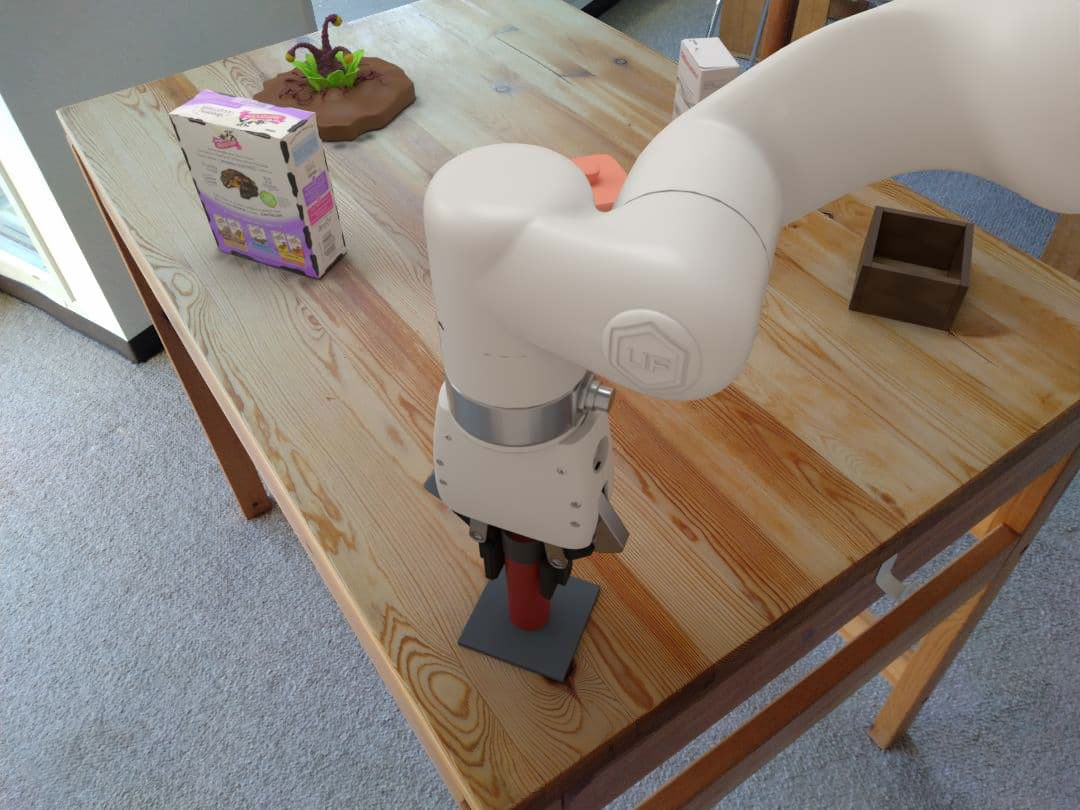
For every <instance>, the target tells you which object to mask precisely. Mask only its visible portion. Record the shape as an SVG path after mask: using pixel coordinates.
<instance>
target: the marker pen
mask: <svg viewBox="0 0 1080 810" xmlns="http://www.w3.org/2000/svg"><path fill="white" fill-rule="evenodd" d="M501 535H502V546H503V551H504V560H505V571H506V582H507V594H508V605H509V615H510V619H511V621H512V622H513V624H514V625H515V626H517V627H518V628H520V629H522V630H527V631H532V630H536V629H539V628H541V627H542V626H544V625H545V624H546V623H547V621H548V620H549V617H550V600H548V599H545V598H543V595H541V588H540V565H541V562H542V560H543V558H544V556H545V554H546V549H545V545H544V542H543V541H539V540H536V539H533V538H530V537H527V536H524V535H520V534H517V533H514V532H511V531H508V530H505V529H502V528H501Z"/></svg>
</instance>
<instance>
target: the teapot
mask: <svg viewBox="0 0 1080 810" xmlns="http://www.w3.org/2000/svg"><path fill="white" fill-rule="evenodd" d="M569 159H570V160H571V161H572V162H574V163H575V164H576V165H577V166H578V167H579V168H580V169H581V170H582V172H583V173H584V174H585V175H586V177H587V179H588V181H589V183H590V185H591V188H592V190H593V195H594V199H595V207H596V209H597V210H599V211H601V212H608V211H611V209H612V207H613V205H614V203H615V201H616V199H617V196H618V194H619V192H620V190H621V188H622V186H623V184H624V182H625V180H626V178H627V176H628V174H627V173H626V172H625V170H624V169H623V167H622V166H621V165H620V164H619V163H618V161H617V160H616V159H615V158H614V157H612V156H611V155H610V154H608V153H604V154H603V153H602V154H592V155H585V156H577V157H572V158H569Z"/></svg>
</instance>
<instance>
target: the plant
mask: <svg viewBox="0 0 1080 810" xmlns="http://www.w3.org/2000/svg"><path fill="white" fill-rule="evenodd" d="M329 23H331V25H332V26H334V27H337V28H338V27H340V26H342V24H343V18H342V16H340V15H339V14H337V13H330V14H328V16H326V17H325V18H324V21H323V24H322V25H321V27H322V30H321V35H320V39H321V46H319V48H318V47H317V46H315V45H313V44H312V43H310V42H302V41H301V42H297V43H296V44H294V46H292V47H291V48H290V49H289V50H288V51H286V53H285V60H286V61H287V62H288V63H290V65H291V66H293V67H294V68H292V69H291V70H288V71H285V72H279V73H277V74H276V76H275V77H272V78H270V79H268V80H265V81H263V82H262V87H263V90H261V91H258V92H257V93H254V94H253V95H252V96H253V97H252V100H256V101H261V102H266V103H270V104H275V105H280V106H284V107H289V108H294V109H299V110H304V111H309V112H315V113H316V117H317V122H318V126H319V131H320V135H321V139H322V141H325V142H334V141H349V142H350V141H353V140H355V139H356V138H357V137H358V136H359V135H360V134H363V133H366V132H369V131H373V130H380V129H382V128H384V127H386V126H387V125H388V124H389V123H390V122H391V121H392V120H393V119H394V118H395V117H397V115H398V114H399V113H400V112H402V111H403V110H404V109H405V108H407V107H408V106H409V105H410V104H411V103H413V102H414V101H415V100H416V98H417V97H416V90H415V89H416V88H415V83H414V81H413V80H411V78H409V76H408V75H407V74H406V72H405V70H404V69H403V68H401V67H400V66H399V65H397V64H395V63H393V62H389V61H387V60H385V59H383V58H380V57H377V56H364V55H365V49H358V50H356V51H354V52H352V51H350V49H349V48H347V47H345V46H342V45H337V46H334V48H332V45H331V43H330V41H331V40H330V39H329V38H330V35H329ZM302 48H304V49H307V50H308V51H309V53H305V54H304V58H305V60H304V61H301V60H296V58H297V56H296V50H297V49H302ZM310 53H311V54H310Z"/></svg>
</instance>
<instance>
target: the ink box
mask: <svg viewBox="0 0 1080 810" xmlns="http://www.w3.org/2000/svg"><path fill="white" fill-rule="evenodd" d="M678 56H679V57H678V65H677V66H678V67H677V75H676V84H675V93H674V101H673V109H672V118H671V119H672V120H671V122H672V121H674V120H675V119H676V118H678V117H679V116H680V115H682V114H683V113H684V112H686V111H687V110H689V109H690V108H692V107H693V106H695V105H696V104H697V103H699V102H700V101H702V100H703V99H705V98H707V97H708V96H710V95H711V94H713V93H714V92H716V91H717V90H719V89H720V88H722V87H723V86H725V85H726V84H728V83H729V82H731V81H732V80H734V79H735V78H737V77H738V76H740V72H741V71H740V70H741V65H740V64H739V63H738V61H737V59H735V58H734V57H733V55H732V54H731V53H730V51H729V49H727V47H726V46H725V44H724V43H723V42H722V40H721V39H720V37H719V36H716V37H715V36H714V37H698V38H697V37H696V38H684V39H682V40H680V46H679V55H678Z"/></svg>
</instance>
